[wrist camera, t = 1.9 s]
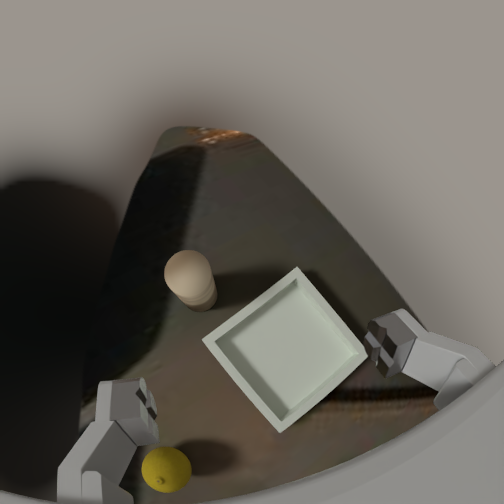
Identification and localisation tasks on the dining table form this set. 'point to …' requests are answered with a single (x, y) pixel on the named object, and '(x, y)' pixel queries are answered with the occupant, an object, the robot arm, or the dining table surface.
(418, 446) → the robot arm
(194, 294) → the dowel
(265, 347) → the tray
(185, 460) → the lemon
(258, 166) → the dining table surface
